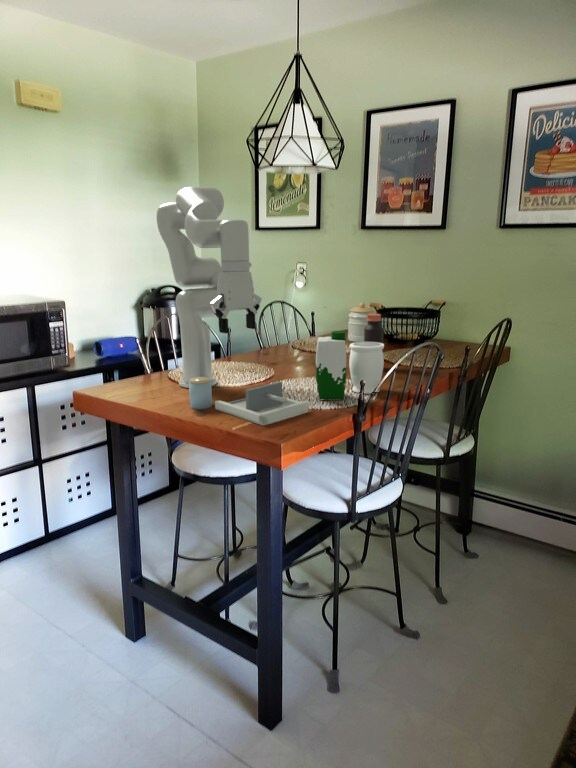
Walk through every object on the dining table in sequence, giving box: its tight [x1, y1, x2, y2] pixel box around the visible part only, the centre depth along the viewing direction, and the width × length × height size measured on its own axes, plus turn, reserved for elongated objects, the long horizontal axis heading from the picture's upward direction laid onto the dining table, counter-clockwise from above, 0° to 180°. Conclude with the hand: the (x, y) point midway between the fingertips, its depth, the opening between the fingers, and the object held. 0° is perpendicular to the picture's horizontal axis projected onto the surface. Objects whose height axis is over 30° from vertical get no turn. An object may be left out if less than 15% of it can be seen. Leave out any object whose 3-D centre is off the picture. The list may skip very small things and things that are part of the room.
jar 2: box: [348, 342, 385, 395], centre depth 177 cm, size 11×10×15 cm
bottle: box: [364, 313, 384, 353], centre depth 206 cm, size 7×7×20 cm
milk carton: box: [315, 330, 347, 400], centre depth 170 cm, size 9×9×20 cm
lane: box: [214, 396, 309, 426], centre depth 160 cm, size 21×16×3 cm
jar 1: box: [347, 302, 375, 343], centre depth 266 cm, size 13×13×18 cm
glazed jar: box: [188, 377, 213, 410], centre depth 165 cm, size 6×6×8 cm
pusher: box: [245, 381, 287, 412], centre depth 155 cm, size 9×12×6 cm
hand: (237, 330), depth 157 cm, fingers open, 9 cm apart
